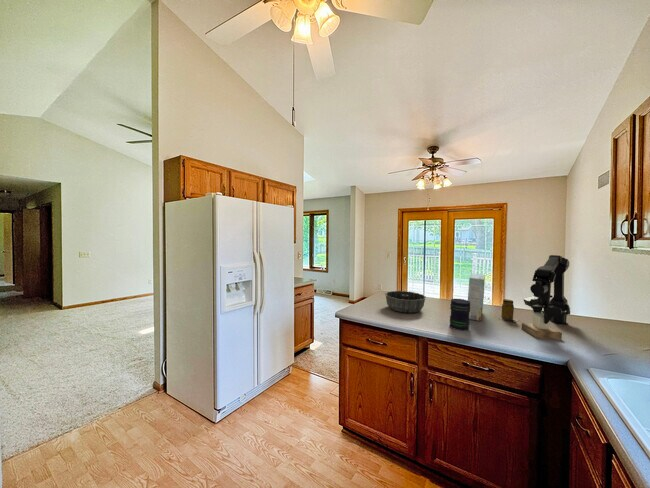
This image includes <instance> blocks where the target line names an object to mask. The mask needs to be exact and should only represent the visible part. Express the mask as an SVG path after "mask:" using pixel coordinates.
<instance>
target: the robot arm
mask: <svg viewBox="0 0 650 488" xmlns="http://www.w3.org/2000/svg"><path fill="white" fill-rule="evenodd" d="M569 268H570V261H569V259H568V258H566V257H564V256H561V255H557V254H556V255H555V254H550V255H549V256H548V259H547V260H546V262H545V264H544V265H542V266H539V267H538V268H536V269H535V270H534V274H533V277H532V280H531V281H532V282H535V283H533V284H531V286H530V287H529V288H530V292H531V293H532V295H533V296H528V297H525V298H523V299H522V300H523V302H524V305H525V306H528V307H530V308H531V309H532V311H533V312H537V313H544V323H545V324H548V322H549V321H550V322H552V323H554V324H558V325H569V323H568V322H567V317H568V315H569V316H570V315H571V307H570V306H569V305H570V304H569V303H568V299H566V297H565V272H566V271H567V270H568V269H569ZM552 284H553V295H551V292H552V291H551V290H552ZM533 312H532V313H533Z"/></svg>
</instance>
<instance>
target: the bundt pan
mask: <svg viewBox="0 0 650 488" xmlns="http://www.w3.org/2000/svg"><path fill="white" fill-rule="evenodd" d="M384 295H385V300H386V304H387V306H388V307H389V308H390V309H391V310H393V311H395V312H400V313H409V314H410V313H418V312H420V311H422V309H423V308H424V306H425V301H426V298H427V296H425V295H424V294H422V293H419V292H414V291H406V290H405V291H404V290H393V291H391V290H390V291H387V292H386V293H384Z"/></svg>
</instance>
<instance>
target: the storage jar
mask: <svg viewBox="0 0 650 488" xmlns="http://www.w3.org/2000/svg"><path fill="white" fill-rule="evenodd" d="M449 308H450V315H449V327H450V328H451V327H452V329H454V328H455V329H454V330H457V329H458V331H469V330H470V321H471V319H469V312H470V301H468V299H463V298H452V299H450V307H449Z"/></svg>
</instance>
